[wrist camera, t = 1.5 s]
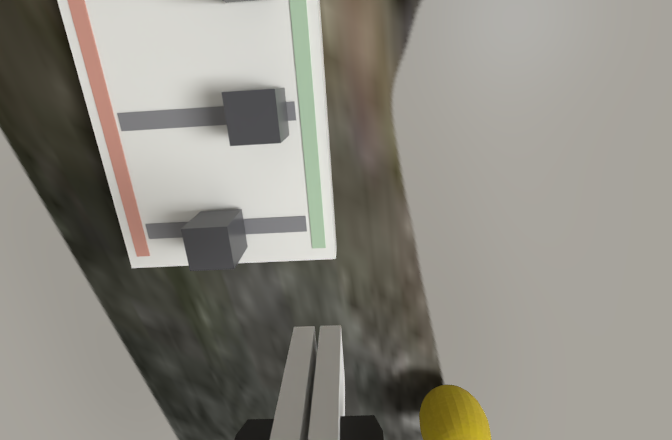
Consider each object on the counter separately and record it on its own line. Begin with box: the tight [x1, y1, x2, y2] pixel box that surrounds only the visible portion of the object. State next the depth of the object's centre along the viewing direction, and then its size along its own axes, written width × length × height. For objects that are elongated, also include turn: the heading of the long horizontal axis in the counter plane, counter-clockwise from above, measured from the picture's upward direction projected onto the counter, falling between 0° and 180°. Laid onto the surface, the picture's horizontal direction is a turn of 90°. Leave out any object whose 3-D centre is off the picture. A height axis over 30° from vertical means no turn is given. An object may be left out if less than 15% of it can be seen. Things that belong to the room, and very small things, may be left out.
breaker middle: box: [221, 88, 289, 146], centre depth 23 cm, size 3×3×4 cm
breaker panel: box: [57, 0, 337, 268], centre depth 26 cm, size 22×16×2 cm
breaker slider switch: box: [181, 209, 248, 271], centre depth 26 cm, size 3×3×4 cm
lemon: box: [419, 385, 491, 440], centre depth 31 cm, size 6×6×8 cm
